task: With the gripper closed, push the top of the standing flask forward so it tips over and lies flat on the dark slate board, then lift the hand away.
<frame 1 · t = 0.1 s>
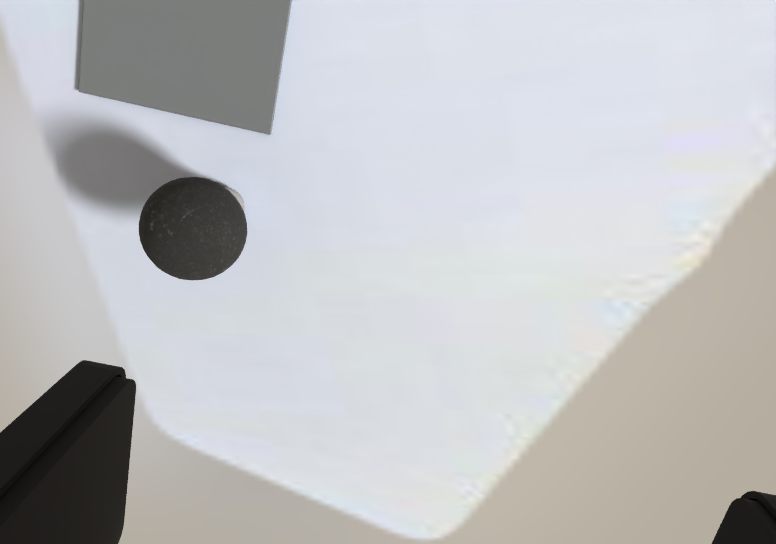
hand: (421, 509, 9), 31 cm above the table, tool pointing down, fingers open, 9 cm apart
light bulb: (230, 202, 40), on the table
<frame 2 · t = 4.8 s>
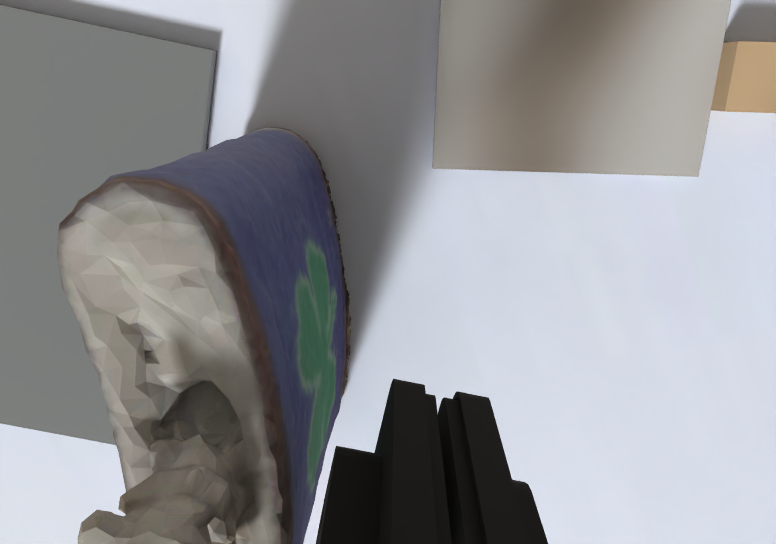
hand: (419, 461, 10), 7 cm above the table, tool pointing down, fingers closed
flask: (297, 288, 17), on the table, touching gripper
turner: (730, 77, 15), on the table
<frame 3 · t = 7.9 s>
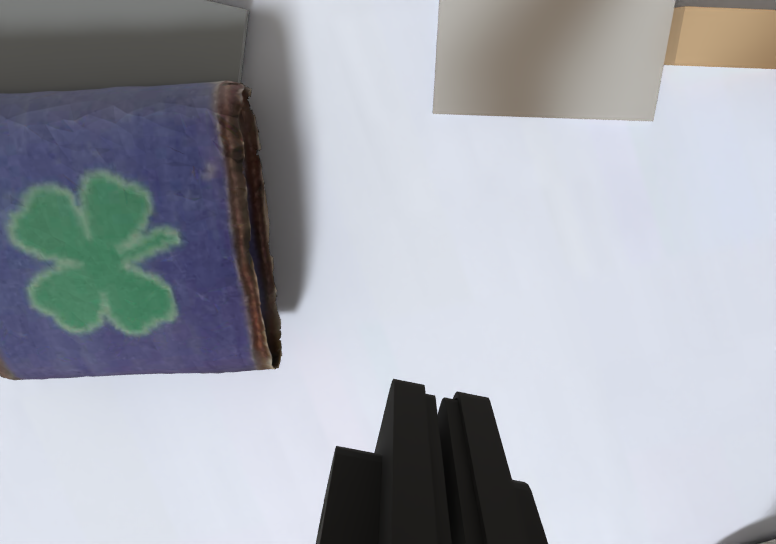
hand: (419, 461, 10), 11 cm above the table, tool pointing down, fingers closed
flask: (270, 236, 19), point 2 cm above the table, touching slate board
turner: (680, 37, 18), on the table
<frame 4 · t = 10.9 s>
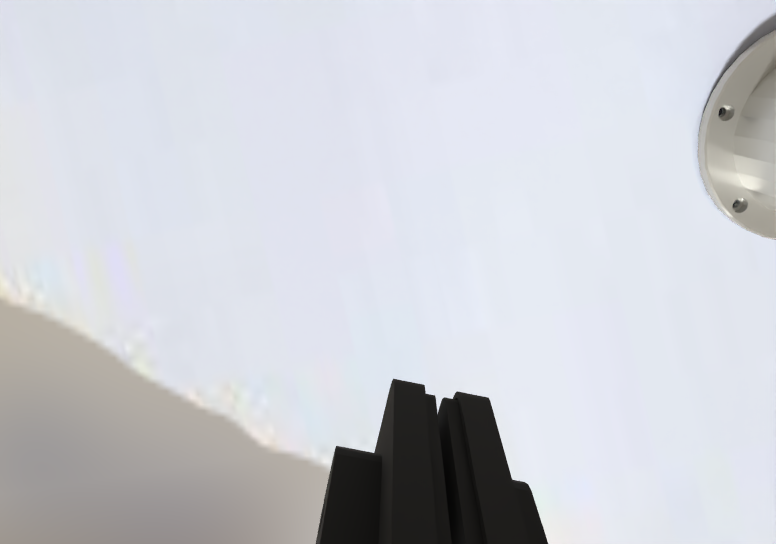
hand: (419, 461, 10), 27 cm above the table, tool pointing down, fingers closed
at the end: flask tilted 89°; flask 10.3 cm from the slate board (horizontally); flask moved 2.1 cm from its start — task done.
